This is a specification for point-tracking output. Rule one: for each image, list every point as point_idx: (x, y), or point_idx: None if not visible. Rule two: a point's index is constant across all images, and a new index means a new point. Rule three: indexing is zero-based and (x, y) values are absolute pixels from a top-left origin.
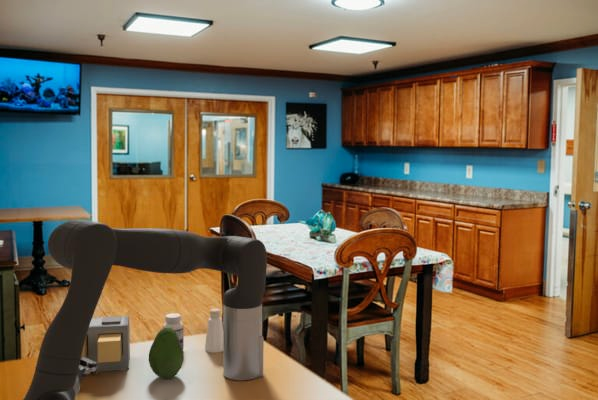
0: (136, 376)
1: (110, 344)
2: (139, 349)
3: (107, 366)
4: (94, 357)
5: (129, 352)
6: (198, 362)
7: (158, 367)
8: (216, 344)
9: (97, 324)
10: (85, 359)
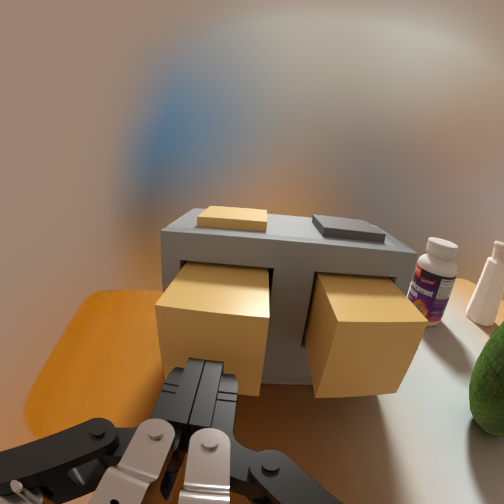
0: (414, 423)
1: (389, 336)
2: None
3: None
4: (285, 348)
5: None
6: None
7: None
8: (494, 311)
9: (307, 233)
10: (308, 500)
